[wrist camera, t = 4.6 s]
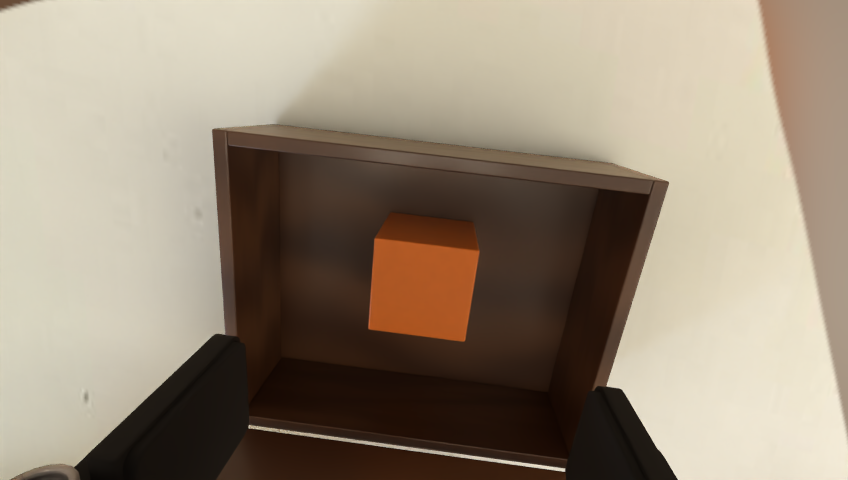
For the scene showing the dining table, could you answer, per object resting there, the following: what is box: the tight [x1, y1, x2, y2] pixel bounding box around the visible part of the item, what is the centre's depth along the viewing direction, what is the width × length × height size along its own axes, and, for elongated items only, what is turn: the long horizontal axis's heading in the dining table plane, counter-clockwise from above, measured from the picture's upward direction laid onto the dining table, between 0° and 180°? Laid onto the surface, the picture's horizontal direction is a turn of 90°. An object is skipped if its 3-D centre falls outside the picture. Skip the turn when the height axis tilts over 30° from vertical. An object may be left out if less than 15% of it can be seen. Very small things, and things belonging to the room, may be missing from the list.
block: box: [368, 212, 479, 342], centre depth 20 cm, size 5×5×5 cm
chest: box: [212, 124, 669, 468], centre depth 20 cm, size 15×18×6 cm
